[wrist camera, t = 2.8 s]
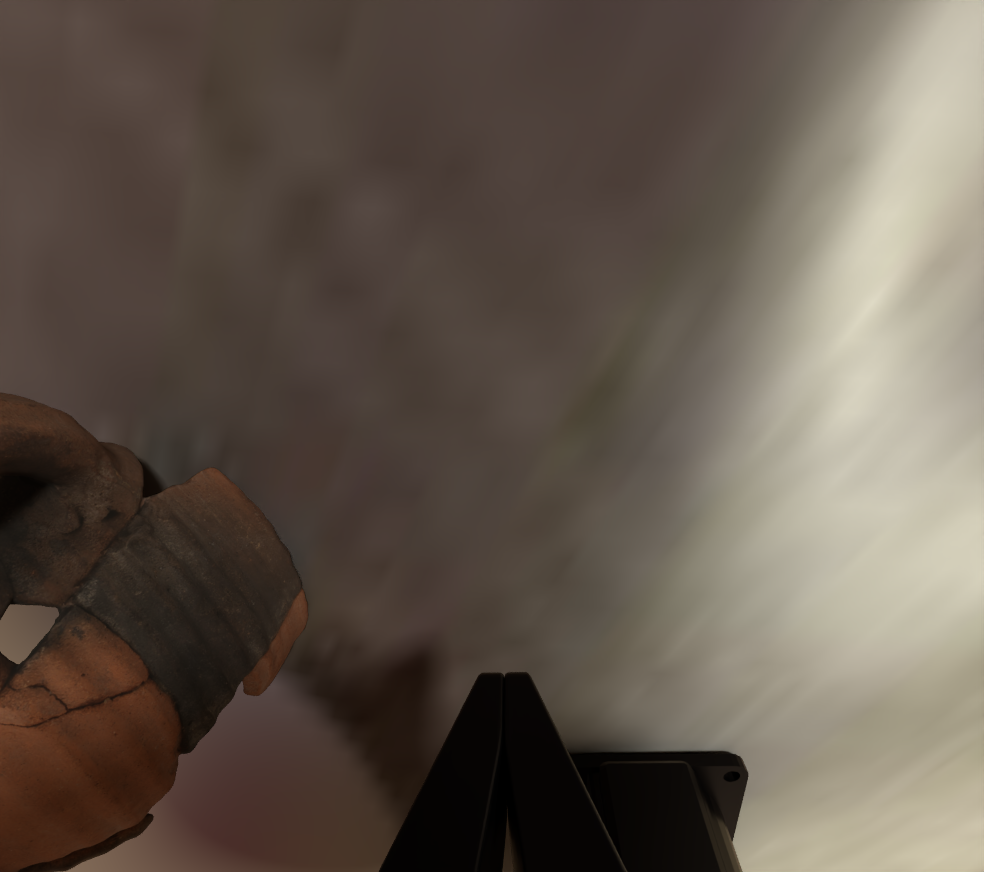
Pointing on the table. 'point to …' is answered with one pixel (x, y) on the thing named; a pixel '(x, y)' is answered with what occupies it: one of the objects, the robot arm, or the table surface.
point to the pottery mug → (121, 631)
